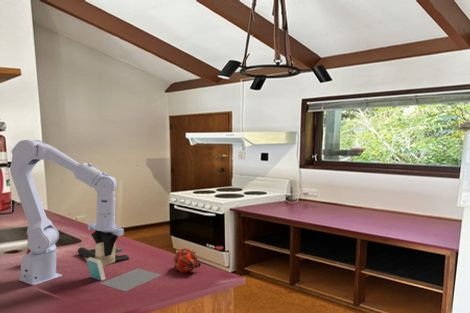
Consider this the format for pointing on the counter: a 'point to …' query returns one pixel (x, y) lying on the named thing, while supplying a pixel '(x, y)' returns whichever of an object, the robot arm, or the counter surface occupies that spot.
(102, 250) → the light wooden block
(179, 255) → the dragon fruit
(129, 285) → the mat
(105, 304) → the counter surface
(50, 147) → the robot arm
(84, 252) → the door handle
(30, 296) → the counter surface
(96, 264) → the tile
